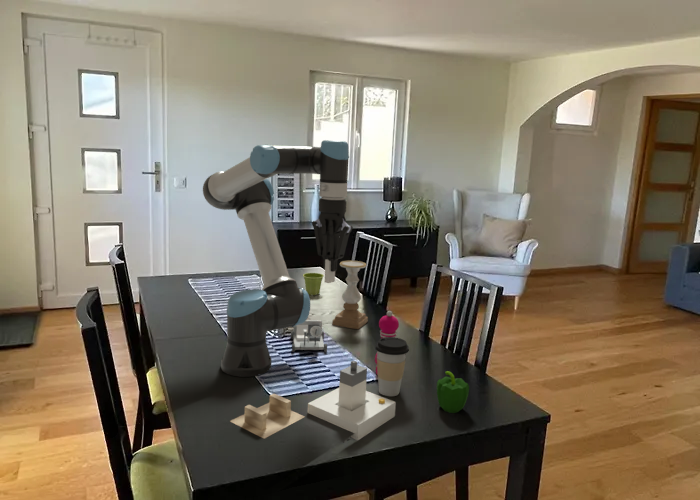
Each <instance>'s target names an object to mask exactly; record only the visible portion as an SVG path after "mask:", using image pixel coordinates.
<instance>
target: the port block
mask: <svg viewBox="0 0 700 500" xmlns="http://www.w3.org/2000/svg"><path fill="white" fill-rule="evenodd" d="M396 405H397V404H396V401H394V400H392V399H388V398H387V397H383V396H381V395H378V394H376V393H373V392H370V391H367V390H366V397H365V404H364V405H362V406H360V407H359V408H357V409H355V410H353V411H350V410H347V409H345V408H342V407H340V406H339V387H337V388H336V389H333V390H332V391H330V392H328V393H326V394H324V395H322V396H320V397H317V398H316V399H314V400H312V401H309V402H308V403H307V414H310V415H312V416H314V417H315V418H316V417H317V418H319V419H321V420H323V421H325V422H328V423H330V424H332V425H335V426H337V427H339V428H342V429H344V430H345V431H349V432H351V433H352V434H351V435H350V436H349V438H351V439H353V440H355V441H359V440H362V438H364V437H366V436H367V435H368V434H370V433H372V432H373V431H375V430H376V429H377V428H379V427H380V426H382V425H384V424H385V423H387V422H388V421H390V420H391V419H393V418H395V416H396Z"/></svg>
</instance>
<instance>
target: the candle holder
mask: <svg viewBox="0 0 700 500" xmlns="http://www.w3.org/2000/svg"><path fill="white" fill-rule="evenodd" d="M339 266H340V267H341V268H344V269H345V270H346V272H347V277H346V278H345V281H346V283H347V286H346V289H345V290H343V293H342V296H341V300H342V301H343V302H344V303H343V305H342V307H343V310H341V311H340V312H339V313H337V314H336V315H335V317H334V319H332V323H331V324H332V326H336V327H341V328H346V329H347V328H348V329H352V330H360V329H361V328H362V327H363V326H364V325H366V324H367V323H368V321H369V317H368V316H366V313H364V312H361V311H359V307H360V305H359V304H358V303H360V301H361V299H362V295H361V293H360V291H359V289H358V288H357V285H358V283H359V281H360V279H359V277H358V274H359V273H358V272H359V271H360V270H361V269H365V268H366V267H367V263H366V262H363V261H361V260H359V261H358V260H342V261H340V263H339Z"/></svg>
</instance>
